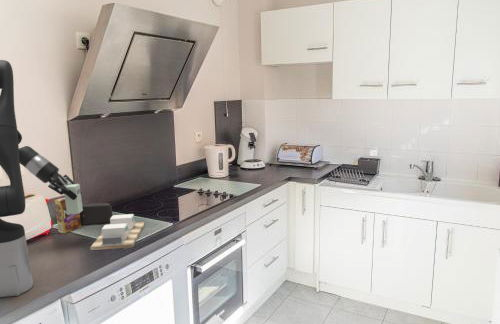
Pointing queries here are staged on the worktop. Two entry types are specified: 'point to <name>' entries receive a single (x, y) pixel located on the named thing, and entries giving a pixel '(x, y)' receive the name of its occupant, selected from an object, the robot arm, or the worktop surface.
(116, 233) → the mounted blocks
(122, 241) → the beige flat plate
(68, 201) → the block
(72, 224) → the candy box
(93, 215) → the dark grey rounded block
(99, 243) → the board
